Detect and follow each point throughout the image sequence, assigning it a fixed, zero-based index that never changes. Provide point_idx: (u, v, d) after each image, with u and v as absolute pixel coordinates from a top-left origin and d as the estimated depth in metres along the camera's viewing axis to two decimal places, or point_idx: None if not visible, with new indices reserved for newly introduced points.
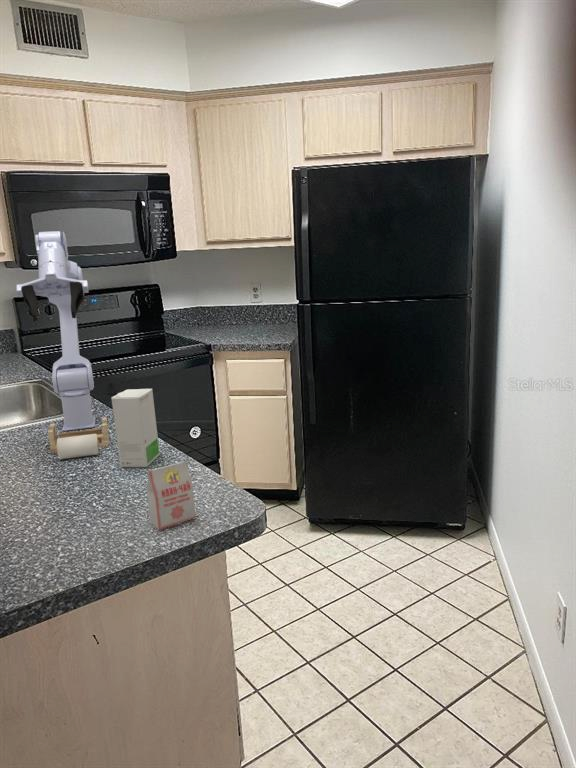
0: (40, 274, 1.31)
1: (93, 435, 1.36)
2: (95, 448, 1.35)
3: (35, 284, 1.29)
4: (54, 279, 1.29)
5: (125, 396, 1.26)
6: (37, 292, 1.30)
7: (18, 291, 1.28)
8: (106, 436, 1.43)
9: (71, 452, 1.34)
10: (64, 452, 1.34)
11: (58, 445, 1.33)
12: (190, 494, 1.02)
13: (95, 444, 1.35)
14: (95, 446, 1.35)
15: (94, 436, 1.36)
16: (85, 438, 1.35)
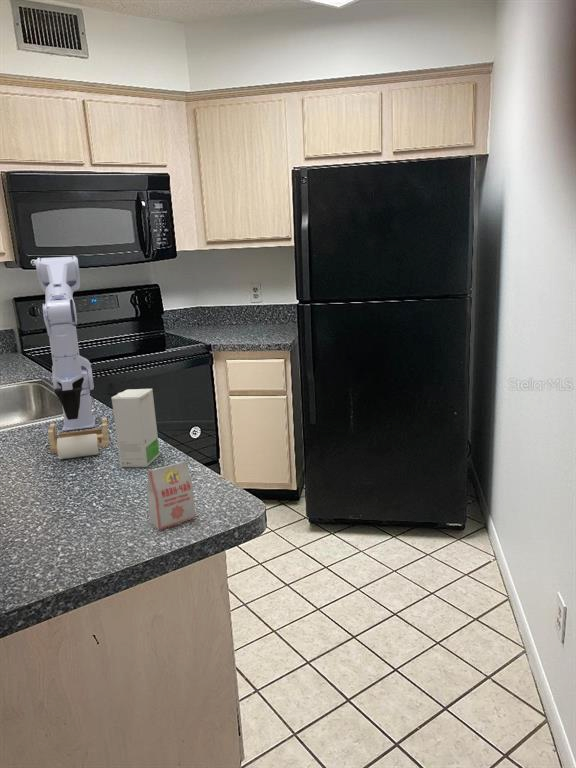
0: (74, 367, 1.30)
1: (93, 435, 1.36)
2: (95, 448, 1.35)
3: None
4: None
5: (125, 396, 1.26)
6: None
7: None
8: (106, 436, 1.43)
9: (71, 452, 1.34)
10: (64, 452, 1.34)
11: (58, 445, 1.33)
12: (190, 494, 1.02)
13: (95, 444, 1.35)
14: (95, 446, 1.35)
15: (94, 436, 1.36)
16: (85, 438, 1.36)
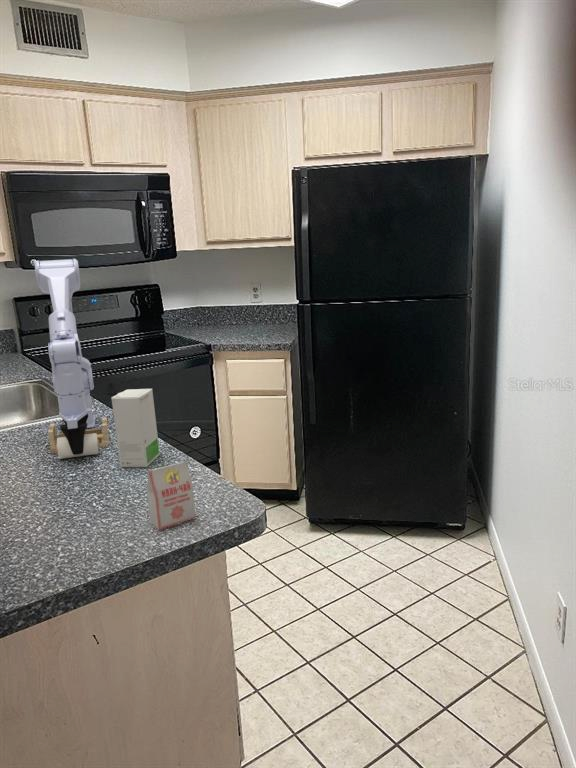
0: (79, 404, 1.32)
1: (93, 435, 1.36)
2: (95, 447, 1.35)
3: None
4: None
5: (125, 396, 1.26)
6: None
7: None
8: (106, 436, 1.43)
9: (71, 452, 1.34)
10: (64, 451, 1.34)
11: (58, 444, 1.33)
12: (190, 494, 1.02)
13: (95, 443, 1.35)
14: (95, 445, 1.35)
15: (94, 435, 1.36)
16: (85, 437, 1.35)
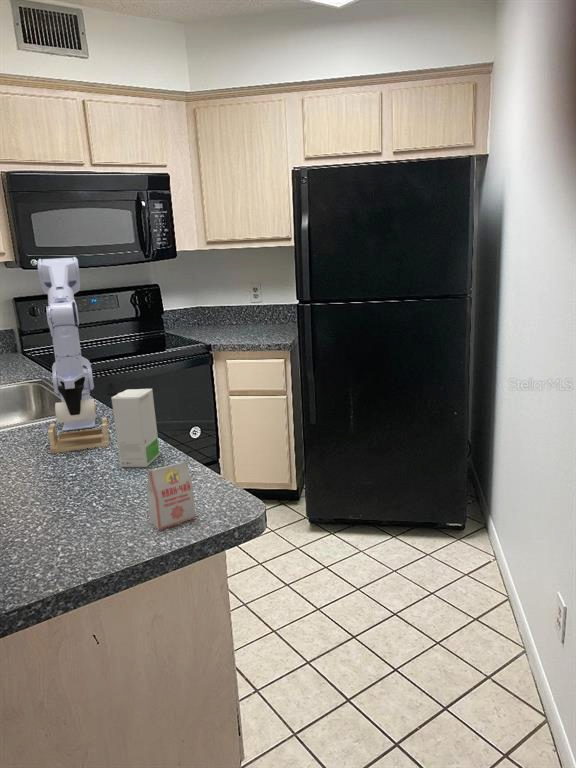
0: (76, 366, 1.37)
1: (90, 399, 1.41)
2: (92, 410, 1.40)
3: None
4: None
5: (125, 396, 1.26)
6: None
7: (73, 387, 1.33)
8: (106, 436, 1.43)
9: (69, 414, 1.39)
10: (62, 413, 1.38)
11: (56, 407, 1.38)
12: (190, 494, 1.02)
13: (92, 406, 1.40)
14: (92, 408, 1.40)
15: (91, 399, 1.41)
16: (82, 401, 1.40)
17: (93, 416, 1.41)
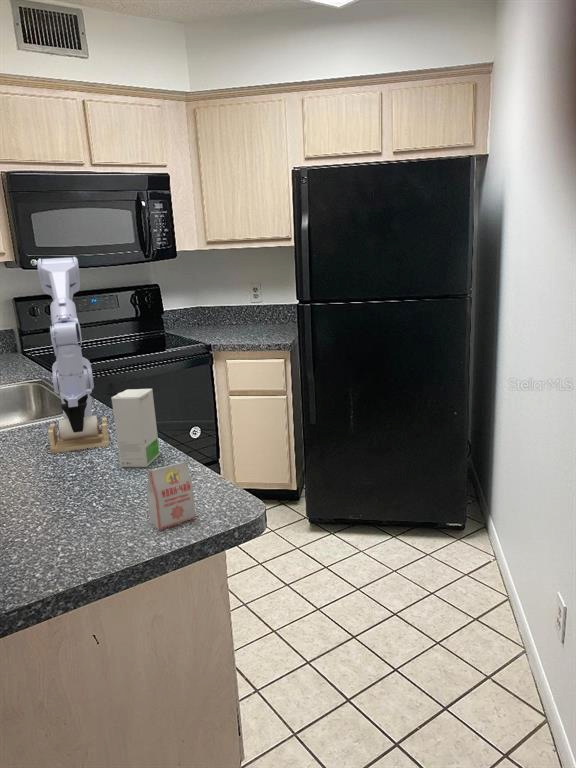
0: (79, 384, 1.40)
1: (93, 416, 1.44)
2: (95, 427, 1.43)
3: None
4: None
5: (125, 396, 1.26)
6: None
7: (76, 405, 1.36)
8: (106, 436, 1.43)
9: (72, 431, 1.42)
10: (65, 431, 1.41)
11: (60, 424, 1.41)
12: (190, 494, 1.02)
13: (95, 423, 1.43)
14: (95, 425, 1.43)
15: (94, 417, 1.44)
16: (85, 418, 1.43)
17: (96, 433, 1.44)
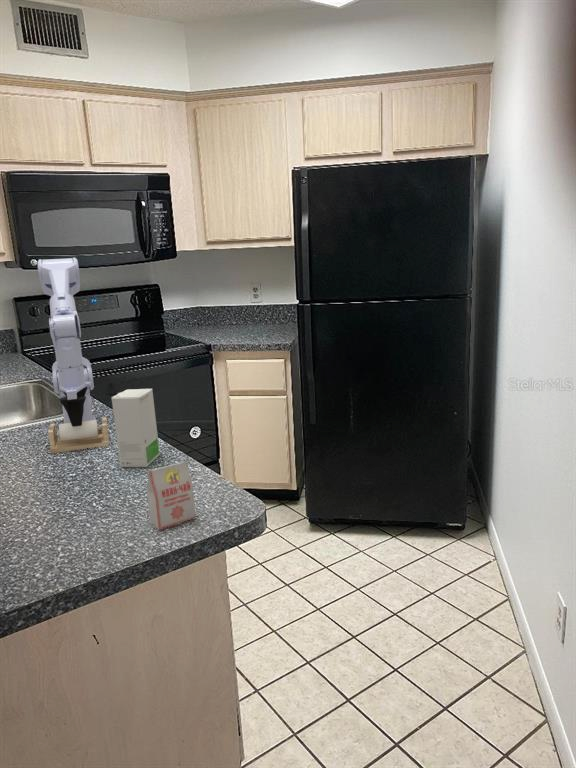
0: (78, 377, 1.39)
1: (93, 422, 1.43)
2: (95, 434, 1.43)
3: None
4: None
5: (125, 396, 1.26)
6: None
7: (75, 398, 1.36)
8: (106, 436, 1.43)
9: (73, 438, 1.41)
10: (66, 438, 1.41)
11: (60, 431, 1.40)
12: (190, 494, 1.02)
13: (95, 431, 1.42)
14: (95, 433, 1.42)
15: (94, 423, 1.43)
16: (85, 424, 1.42)
17: None
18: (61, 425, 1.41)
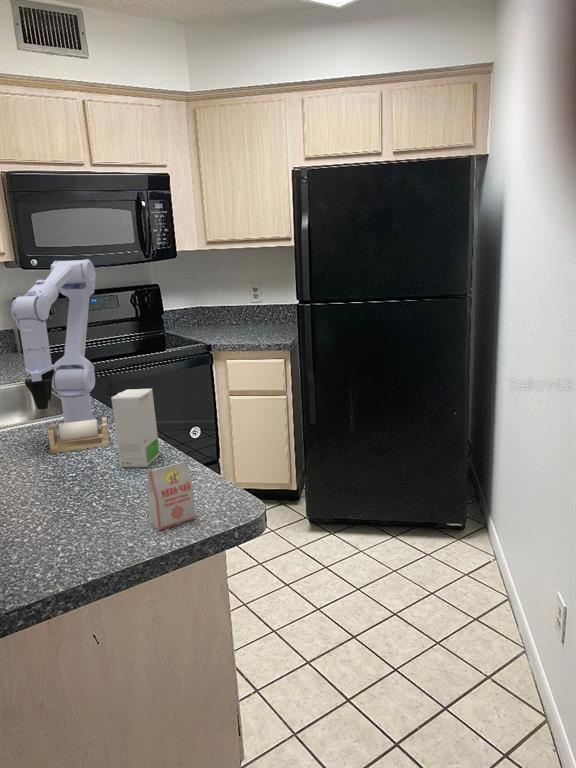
0: (44, 359, 1.38)
1: (93, 421, 1.44)
2: (95, 433, 1.43)
3: None
4: None
5: (125, 396, 1.26)
6: None
7: None
8: (106, 436, 1.43)
9: (73, 436, 1.41)
10: (66, 436, 1.41)
11: (60, 429, 1.41)
12: (190, 494, 1.02)
13: (95, 429, 1.43)
14: (95, 431, 1.43)
15: (94, 421, 1.43)
16: (85, 423, 1.43)
17: None
18: (61, 424, 1.42)
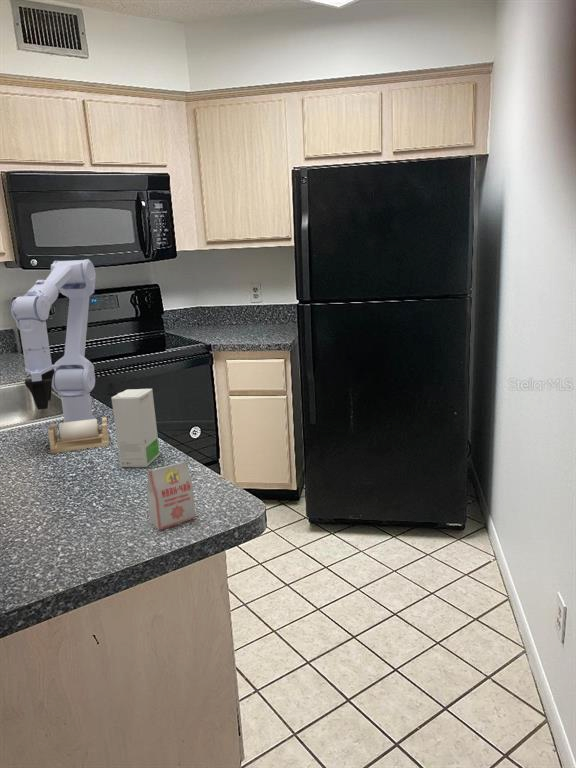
0: (44, 359, 1.38)
1: (93, 419, 1.45)
2: (95, 430, 1.43)
3: None
4: None
5: (125, 396, 1.26)
6: None
7: None
8: (106, 436, 1.43)
9: (73, 434, 1.42)
10: (66, 434, 1.41)
11: (60, 427, 1.41)
12: (190, 494, 1.02)
13: (95, 426, 1.43)
14: (95, 428, 1.43)
15: (94, 420, 1.44)
16: (86, 421, 1.44)
17: (96, 436, 1.44)
18: (61, 423, 1.43)
